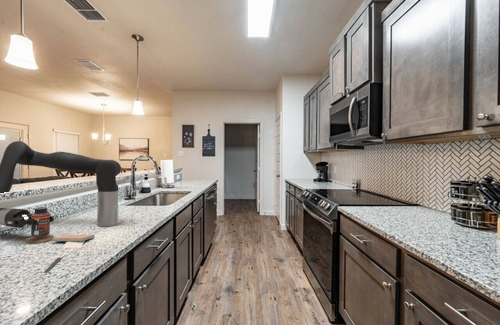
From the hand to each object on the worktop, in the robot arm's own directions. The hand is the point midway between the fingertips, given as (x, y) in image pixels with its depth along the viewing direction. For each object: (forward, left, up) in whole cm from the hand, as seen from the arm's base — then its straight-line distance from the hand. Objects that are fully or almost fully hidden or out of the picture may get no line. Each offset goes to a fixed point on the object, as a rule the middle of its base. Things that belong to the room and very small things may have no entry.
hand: (44, 221), depth 106 cm
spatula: (-12, +21, -9) cm, 26 cm away
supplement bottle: (+2, -1, -6) cm, 7 cm away
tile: (-5, +1, -7) cm, 9 cm away
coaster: (+2, -1, -8) cm, 8 cm away
